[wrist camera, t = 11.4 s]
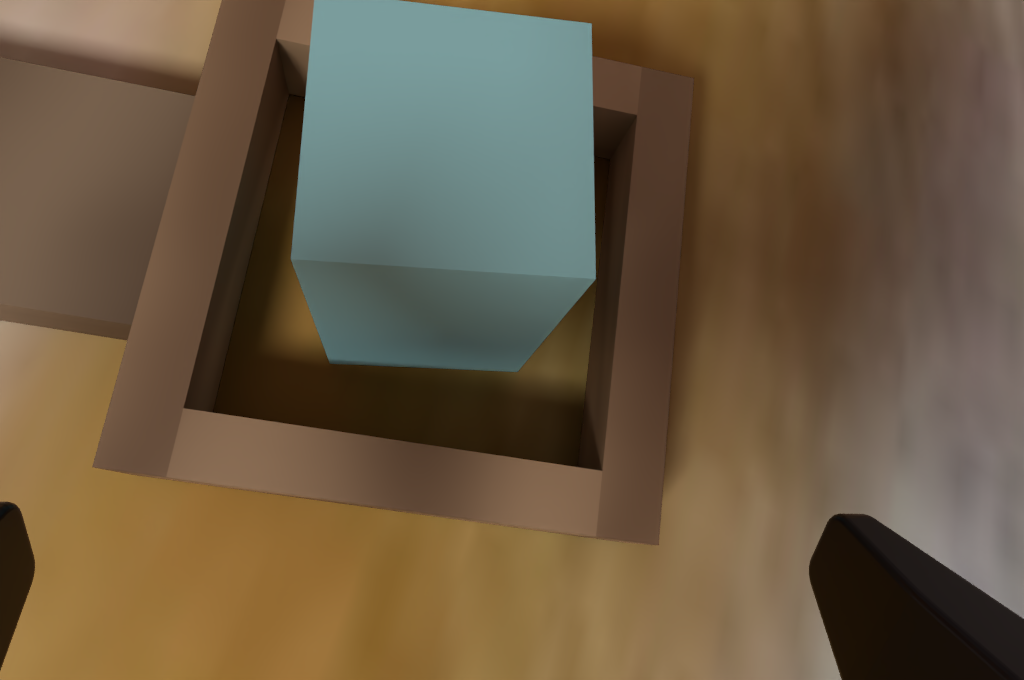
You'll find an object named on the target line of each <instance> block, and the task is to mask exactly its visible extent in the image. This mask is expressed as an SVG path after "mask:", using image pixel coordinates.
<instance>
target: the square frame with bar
mask: <svg viewBox="0 0 1024 680" xmlns="http://www.w3.org/2000/svg"><path fill="white" fill-rule="evenodd" d="M313 8H314V0H222V2H221V6H220V9H219V13H218V16H217V20H216V24H215V27H214V31H213V34H212V38H211V42H210V45H209V49H208V52H207V56H206V60H205V63H204V67H203V70H202V74H201V78H200V81H199V85H198V88H197V92H196V96H192V95H187V94H182V93H177V92H172V91H167V90H162V89H157V88H152V87H147V86H142V85H137V84H132V83H127V82H122V81H117V80H112V79H107V78H102V77H97V76H92V75H87V74H82V73H77V72H72V71H67V70H62V69H57V68H52V67H47V66H42V65H37V64H32V63H27V62H22V61H17V60H12V59H7V58H2V57H0V320H3V321H9V322H16V323H22V324H28V325H34V326H41V327H47V328H53V329H60V330H66V331H72V332H78V333H85V334H91V335H97V336H104V337H110V338H116V339H122V340H127V344H126V348H125V351H124V355H123V358H122V362H121V366H120V369H119V373H118V376H117V380H116V384H115V387H114V391H113V394H112V398H111V402H110V405H109V409H108V412H107V416H106V420H105V423H104V427H103V430H102V434H101V438H100V441H99V445H98V449H97V452H96V456H95V459H94V463H93V467H95V468H100V469H105V470H111V471H116V472H121V473H127V474H132V475H139V476H146V477H154V478H161V479H168V480H175V481H183V482H190V483H197V484H204V485H212V486H219V487H226V488H233V489H241V490H248V491H255V492H262V493H270V494H277V495H284V496H291V497H299V498H306V499H313V500H320V501H328V502H335V503H342V504H349V505H357V506H364V507H371V508H378V509H386V510H393V511H400V512H407V513H415V514H422V515H429V516H436V517H444V518H451V519H458V520H465V521H473V522H480V523H487V524H494V525H502V526H509V527H516V528H523V529H531V530H538V531H545V532H552V533H560V534H567V535H574V536H581V537H589V538H596V539H603V540H610V541H618V542H625V543H637V544H649V545H659V534H660V520H661V507H662V494H663V481H664V468H665V455H666V441H667V428H668V415H669V402H670V389H671V375H672V362H673V349H674V336H675V323H676V309H677V296H678V283H679V270H680V257H681V244H682V230H683V217H684V204H685V191H686V178H687V164H688V151H689V138H690V125H691V112H692V98H693V85H694V78H691V77H686V76H681V75H677V74H672V73H668V72H663V71H659V70H654V69H650V68H645V67H641V66H636V65H632V64H627V63H622V62H618V61H613V60H609V59H604V58H600V57H595V56H592V76H593V137H594V156H597V157H602V158H607V159H610V167H609V177H608V186H607V195H606V205H605V214H604V224H603V233H602V242H601V252H600V261H599V271H598V280H597V289H596V299H595V308H594V318H593V327H592V336H591V346H590V355H589V364H588V374H587V383H586V393H585V402H584V411H583V421H582V430H581V440H580V449H579V458H578V467H573V466H566V465H560V464H553V463H546V462H540V461H533V460H526V459H520V458H513V457H506V456H499V455H493V454H486V453H479V452H473V451H466V450H459V449H453V448H446V447H439V446H433V445H426V444H419V443H413V442H406V441H399V440H393V439H386V438H379V437H372V436H366V435H359V434H352V433H346V432H339V431H332V430H326V429H319V428H312V427H306V426H299V425H292V424H286V423H279V422H272V421H266V420H259V419H252V418H246V417H239V416H232V415H225V414H219V413H213V409H214V405H215V401H216V397H217V392H218V388H219V384H220V380H221V376H222V372H223V367H224V363H225V359H226V355H227V351H228V347H229V342H230V338H231V334H232V330H233V326H234V322H235V317H236V313H237V309H238V305H239V301H240V297H241V292H242V288H243V284H244V280H245V276H246V272H247V267H248V263H249V259H250V255H251V251H252V247H253V242H254V238H255V234H256V230H257V226H258V222H259V217H260V213H261V209H262V205H263V201H264V197H265V192H266V188H267V184H268V180H269V176H270V172H271V167H272V163H273V159H274V155H275V151H276V146H277V142H278V138H279V134H280V130H281V126H282V121H283V117H284V113H285V109H286V105H287V101H288V96H289V94H292V95H297V96H302V97H305V96H306V85H307V74H308V63H309V52H310V41H311V30H312V19H313Z"/></svg>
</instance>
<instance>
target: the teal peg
mask: <svg viewBox="0 0 1024 680" xmlns="http://www.w3.org/2000/svg"><path fill="white" fill-rule="evenodd" d="M291 261H292V264H293V267H294V269H295V272H296V275H297V277H298V280H299V283H300V285H301V288H302V291H303V293H304V296H305V299H306V301H307V304H308V307H309V309H310V312H311V315H312V317H313V320H314V323H315V325H316V328H317V331H318V333H319V336H320V339H321V341H322V344H323V347H324V349H325V352H326V355H327V357H328V360H329V363H330V364H347V365H370V366H392V367H415V368H437V369H460V370H482V371H505V372H518V371H519V370H520V368H521V367H522V366H523V365H524V364H525V362H526V361H527V360H528V359H529V358H530V357H531V355H532V354H533V353H534V352H535V351H536V349H537V348H538V347H539V346H540V345H541V343H542V342H543V341H544V340H545V339H546V338H547V336H548V335H549V334H550V333H551V332H552V330H553V329H554V328H555V327H556V326H557V324H558V323H559V322H560V321H561V320H562V319H563V317H564V316H565V315H566V314H567V313H568V311H569V310H570V309H571V308H572V307H573V306H574V304H575V303H576V302H577V301H578V300H579V298H580V297H581V296H582V295H583V294H584V292H585V291H586V290H587V289H588V288H589V287H590V285H591V284H592V283H593V282H594V281H595V279H596V257H595V197H594V137H593V76H592V23H583V22H575V21H567V20H558V19H550V18H541V17H533V16H525V15H516V14H508V13H499V12H491V11H483V10H474V9H466V8H457V7H449V6H440V5H432V4H424V3H415V2H407V1H398V0H314V8H313V19H312V30H311V41H310V52H309V63H308V74H307V85H306V96H305V107H304V118H303V129H302V140H301V151H300V162H299V173H298V185H297V196H296V207H295V218H294V229H293V240H292V251H291Z"/></svg>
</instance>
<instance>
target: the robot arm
mask: <svg viewBox="0 0 1024 680" xmlns="http://www.w3.org/2000/svg"><path fill="white" fill-rule="evenodd" d="M34 571H35V560H34V555H33V551H32V548H31V544H30V541H29V537H28V534H27V530H26V527H25V523H24V520H23V516H22V513H21V511H20V509H19V508H18V507H17V505H15V504H14V503H10V502H0V670H1V667H2V665H3V662H4V659H5V656H6V654H7V651H8V648H9V645H10V642H11V640H12V637H13V634H14V631H15V629H16V626H17V623H18V620H19V618H20V615H21V612H22V609H23V606H24V604H25V601H26V598H27V595H28V593H29V590H30V587H31V584H32V581H33V577H34ZM809 577H810V582H811V586H812V589H813V592H814V595H815V598H816V601H817V604H818V607H819V610H820V614H821V617H822V620H823V623H824V626H825V629H826V632H827V635H828V638H829V641H830V645H831V648H832V651H833V654H834V657H835V660H836V663H837V666H838V669H839V672H840V676H841V679H842V680H1024V619H1023V618H1021V617H1020V616H1018V615H1017V614H1016V613H1014V612H1013V611H1011V610H1010V609H1008V608H1007V607H1005V606H1004V605H1002V604H1001V603H999V602H998V601H996V600H995V599H993V598H992V597H990V596H989V595H987V594H986V593H984V592H983V591H981V590H980V589H978V588H977V587H975V586H974V585H972V584H971V583H969V582H968V581H966V580H965V579H964V578H962V577H961V576H959V575H958V574H956V573H955V572H953V571H952V570H950V569H949V568H947V567H946V566H944V565H943V564H941V563H940V562H938V561H937V560H935V559H934V558H932V557H931V556H929V555H928V554H926V553H925V552H923V551H922V550H920V549H919V548H917V547H916V546H915V545H913V544H912V543H910V542H909V541H907V540H906V539H904V538H903V537H901V536H900V535H898V534H897V533H895V532H894V531H892V530H891V529H889V528H888V527H886V526H885V525H883V524H882V523H880V522H879V521H877V520H876V519H874V518H873V517H871V516H869V515H865V514H836V515H834V516H833V517H832V518H830V519H829V521H828V522H827V525H826V527H825V529H824V531H823V533H822V536H821V538H820V540H819V542H818V544H817V547H816V549H815V551H814V553H813V555H812V558H811V560H810V565H809Z"/></svg>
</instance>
